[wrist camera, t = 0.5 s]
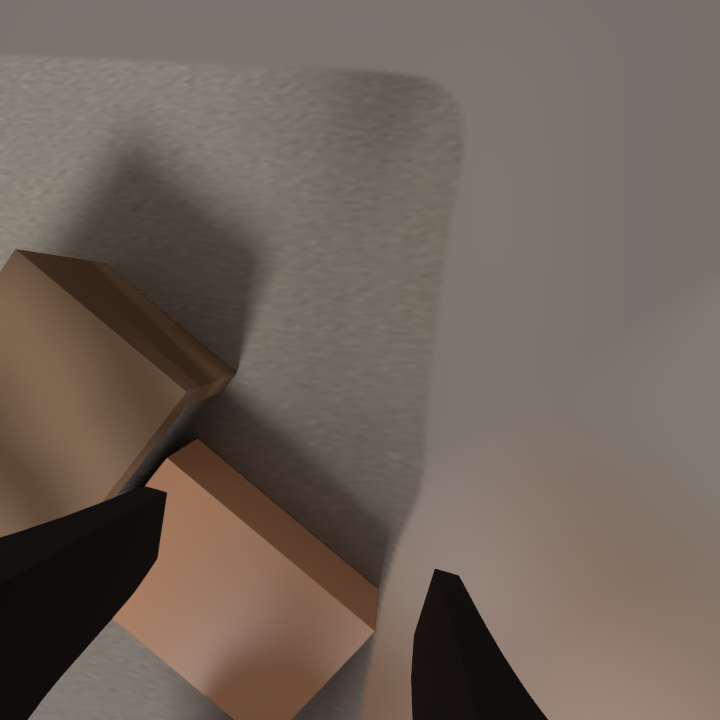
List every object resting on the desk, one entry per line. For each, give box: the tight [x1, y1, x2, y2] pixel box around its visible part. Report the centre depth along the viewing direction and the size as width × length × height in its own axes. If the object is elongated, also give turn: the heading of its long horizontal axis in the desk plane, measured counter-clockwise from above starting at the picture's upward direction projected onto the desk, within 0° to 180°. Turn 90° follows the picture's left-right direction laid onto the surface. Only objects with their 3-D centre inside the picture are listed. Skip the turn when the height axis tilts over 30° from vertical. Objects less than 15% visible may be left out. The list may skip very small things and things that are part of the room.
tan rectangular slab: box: [113, 439, 378, 720], centre depth 22 cm, size 8×12×3 cm, turn 51°
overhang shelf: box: [0, 249, 236, 537], centre depth 21 cm, size 16×8×5 cm, turn 141°
